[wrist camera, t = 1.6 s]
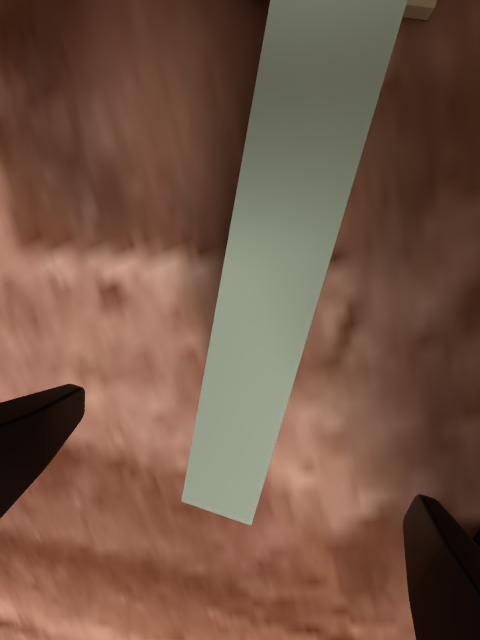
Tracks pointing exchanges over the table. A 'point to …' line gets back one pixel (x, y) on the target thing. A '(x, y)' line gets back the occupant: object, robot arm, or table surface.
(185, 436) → the table surface
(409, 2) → the maple jig
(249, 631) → the table surface
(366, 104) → the sage board
